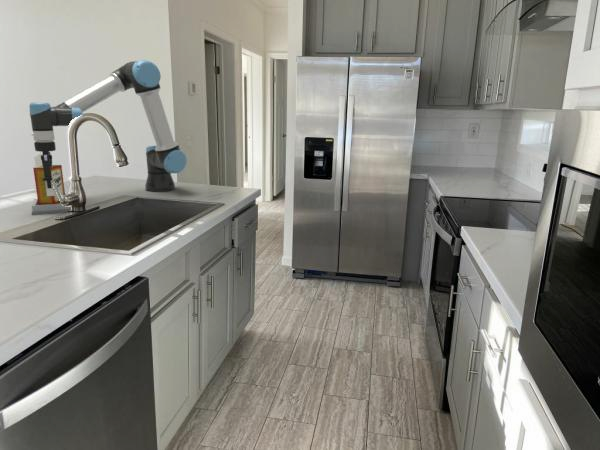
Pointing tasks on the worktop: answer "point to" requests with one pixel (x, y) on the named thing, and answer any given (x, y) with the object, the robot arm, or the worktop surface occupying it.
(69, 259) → the worktop surface
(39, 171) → the baking soda box
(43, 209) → the dock
